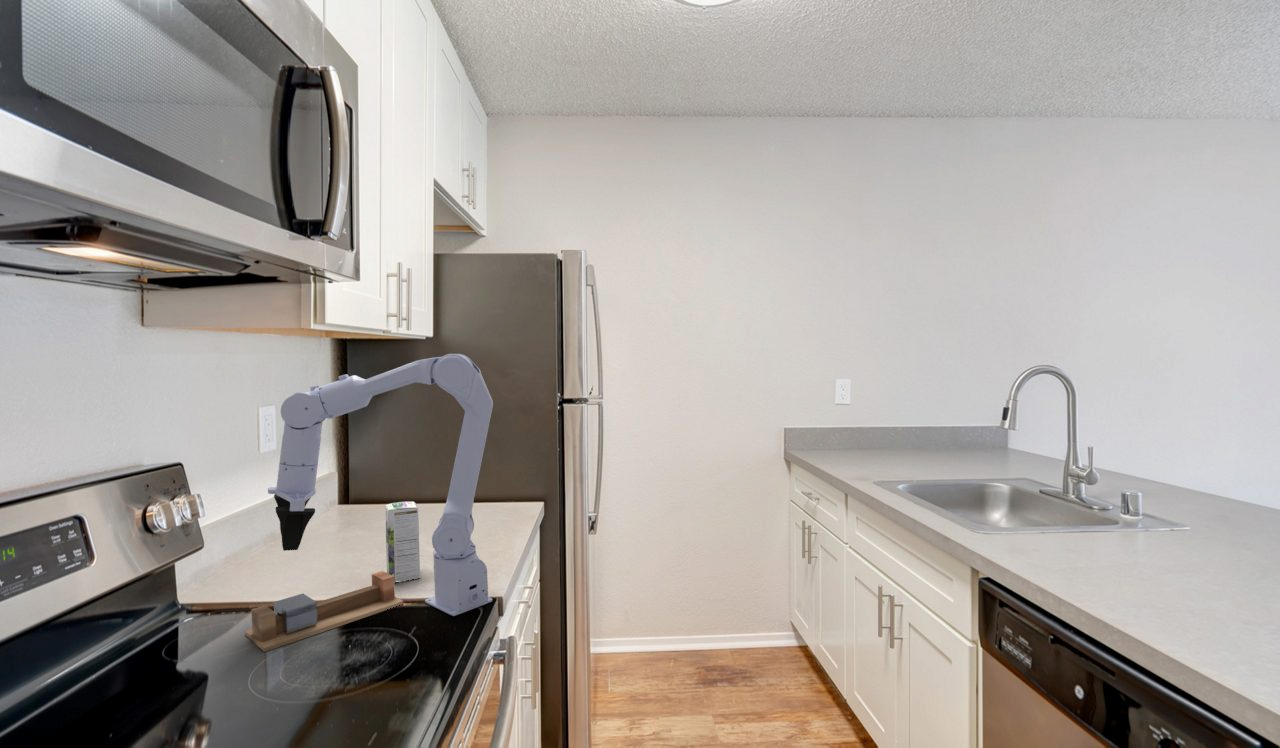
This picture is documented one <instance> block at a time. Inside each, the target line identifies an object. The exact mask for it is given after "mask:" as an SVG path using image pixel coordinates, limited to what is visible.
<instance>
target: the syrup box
mask: <svg viewBox="0 0 1280 748" xmlns="http://www.w3.org/2000/svg"><path fill="white" fill-rule="evenodd" d="M419 521H420V520H419V507H418V505H417V503H416V502H415V501H399V502H391V503H388V504H385V552H386V556H385V557H386V558H385V559H386V573H388V574H390V575H392V576H394V582H396V581H404V580H409V581H413V580H412V579H414V580H418V578H419V579H420V578H421V569H420V567H421V566H420V565H421V563H420V562H421V561H420V560H421V559H420V523H419ZM404 582H405V581H404Z"/></svg>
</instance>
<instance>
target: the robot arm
mask: <svg viewBox="0 0 1280 748" xmlns="http://www.w3.org/2000/svg"><path fill="white" fill-rule="evenodd" d="M414 383H419V384H423V385H429V386H432V385H434V384H436V385H437V386H438V387H439V388H441V389H442V390H444V391H445V392H446V393H448V394H450V395H451V396H452V397H454V399H455V400H456V401H457V402H458V404H459V405H460V406H461V407H462V409H463V410H464V415H463V421H462V425H461V429H460V434H459V439H458V444H457V449H456V455H455V459H454V463H453V467H452V468H453V469H452V473H451V478H450V483H449V489H448V493H447V497H446V502H445V505H444V510H443V512H442V516H441V518H440V519H439V521H438V525H437V527H436V528H435V530H434V531H433V534H432V537H431V544H432V547H433V549H434V550H433V552H432V553H433V573H434V574H433V575H434V576H433V578H434V582H433V583H434V596H432V597H428V598H425V600H424V602H425V603H426V604H427V605H430V606H431V607H434V608H436V609H438V610H440V611H442V612H444V613H445V614H448V615H450V616H452V617H455V616H458V615H461V614H464V613H467V612H468V611H469V612H470V611H471V610H474V609H477V608H479V607H481V606H485V605H486V604H489V603H491V602H493V598H492V597H490V596H489V591H488V590H489V589H488V588H489V585H488V582H489V581H488V568H487V565H486V563H485V562H484V561H483V560H482V559H480V558H479V556H478V554H477V550H476V548H477V547H476V545H475V544H474V542H473V541H472V540H471V537H472V534H473V532H474V530H475V529H474V528H475V521H474V518H473V514H472V513H473V507H474V500H475V496H476V490H477V485H478V481H479V476H480V470H481V467H482V466H481V465H482V462H483V461H482V460H483V455H484V451H485V447H486V442H487V438H488V432H489V428H490V421H491V418H492V412H493V409H494V401H493V398H492V396H491V394H490V391H489V389H488V386H487V384H486V382H485V380H484V377H483V374H482V372H481V369H480V368H479V367H478V365H477V364H476V363H474V361H473V360H472V359H471V358H470V357H469V356H467V355H465V354H462V353H448V354H445V355H443V356H437V357H430V358H424V359H418V360H414V361H412V362H410V363H406V364H404V365H401V366H398V367H396V368H394V369H391V370H388V371H385V372H383V373H379V374H377V375H373V376H371V377H369V378H366V379H365V378H362V377H361V376H359V375H356V374H355V375H354V374H353V375H350V376H349V374H342V375H339V376H338V380H335V381H333V382H330V383H327V384H324V385H320V386H319V385H318V384H316V385H312V386H310V388H309V389H310V391H306V392H296V393H293V395H290V396H288V397H287V398H286V399H285V400H284V401H283V402H282V404H281V407H280V415H281V416H280V417H281V418H282V420H283V422H284V427H283V435H282V438H281V446H280V447H281V448H280V453H279V454H280V457H279V463H278V471H277V472H278V474H277V482H276V486H274V487H273V486H270V487H268V488H267V494H269V495H273V498H274V500H275V502H276V505H277V506H276V507H275V513H276V516H277V517H278V520H279V528H280V535H281V545H282V550H283V551H298V550H299V547H300V545H301V543H302V539H303V536H304V533H305V530H306V528H307V526H308V524H309V522H310V521H311V519H312V518H313V516H314V515H315V513H316V509H315V508H314V507H307V508H306V506H307V504H308V503H309V501H310V500H311V498H312V497H313V496H315V495H316V494H317V488H316V483H317V474H318V466H319V465H318V464H319V459H320V458H319V457H320V450H321V448H320V447H321V443H322V442H321V440H322V436H321V435H322V428H323V422H324V421H326V419H328V420H332V419H334V418H336V417H340V416H343V415H345V414H346V415H347V414H349V413H351V412H354V411H358V410H360V409H363V408H366V407H367V406H368V405H369V403H370V401H371V399H372V398H373V397H374V396H376V395H380V394H383V393H386V392H389V391H394V390H395V389H399V388H402V387H405V386H408V385H412V384H414Z"/></svg>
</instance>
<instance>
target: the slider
mask: <svg viewBox="0 0 1280 748" xmlns="http://www.w3.org/2000/svg"><path fill="white" fill-rule="evenodd" d="M317 602H318V601H316V600H314V599H313V598H311V597H310V596H308V595H306V594H305V593H301V594H297V595H294V596H289V597H286V598H283V599H279V600H276V601H273V611H274V612H275V615H277V614H281V615H282V616H283V630H284V632H286V633H287V634H288V633H291V632H294V631H297V630H300V629H303V628H306V627H309V626H312V625H315V624H317Z"/></svg>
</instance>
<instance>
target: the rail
mask: <svg viewBox="0 0 1280 748" xmlns="http://www.w3.org/2000/svg"><path fill="white" fill-rule="evenodd" d="M395 594H396V593H395V583H394V576H392V575H390V574H388V573H387V571H384V570H381V571H377V572H374V573H371V585H370V586H369V585H368V586H366V587H362V588H360V589H356V590H352V591H350V592H346V593H343V594H339V595H337V596H333V597H330V598H326V599H324V600H320V601H316V602H317V624H315V625H312V626H309V627H306V628H303V629H300V630H297V631H294V632H291V633H288V634H287V633H286V632H284V630H283V616H282V615H281V614H277V615H275V612H274V609H271V608H270V607H269V606H267V605H266V604H265V605H261V606H258V607H254V608H251V610H250V611H251V612H250V613H251V628H249V629H247V630H245V631H244V635H245V636H246V637H247V638H248V639H249V640H251V642H253V643H254V644H255V645H256V646H257V647H258V648H259V649H260V650H262V651H263V652H264V653H265V652H269V651H271V650H275V649H276V648H280V647H283V646H286V645H289V644H291V643H294V642H298V641H301V640H303V639H306V638H308V637H309V638H310V637H312V636H315V635H318V634H321V633H323V632H327V631H330V630H332V629H335V628H339V627H342V626H344V625H347V624H350V623H352V622H355V621H358V620H361V619H364V618H367V617H371V616H374V615H377V614H380V613H382V612H384V611H385V612H386V611H388V610H391V609H394V608H396V606H397V607H400V606H403V605H404V600H403V599H401V598H399V597H396V595H395ZM402 604H403V605H402ZM399 605H400V606H399ZM393 607H394V608H393ZM390 608H391V609H390ZM387 609H388V610H387Z"/></svg>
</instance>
